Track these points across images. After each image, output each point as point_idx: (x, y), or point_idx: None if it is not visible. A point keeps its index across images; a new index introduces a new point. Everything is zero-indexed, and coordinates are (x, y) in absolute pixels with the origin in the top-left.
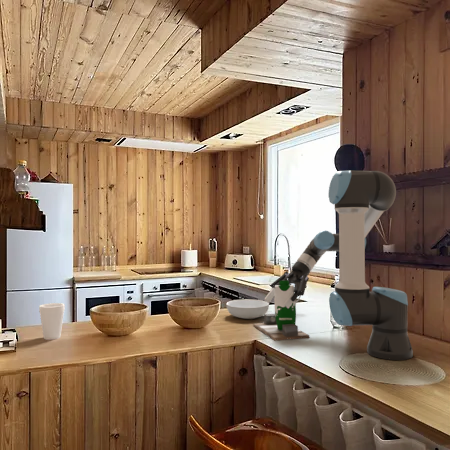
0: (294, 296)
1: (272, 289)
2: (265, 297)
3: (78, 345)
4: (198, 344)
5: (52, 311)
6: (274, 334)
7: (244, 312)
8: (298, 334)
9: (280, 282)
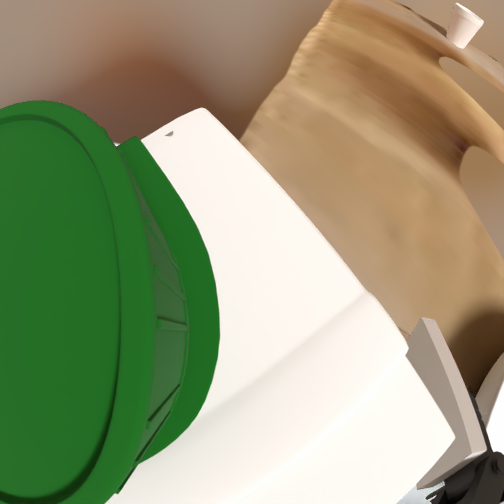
0: None
1: (466, 428)
2: (440, 333)
3: (408, 25)
4: (317, 65)
5: (454, 7)
6: None
7: (500, 360)
8: None
9: (57, 135)
